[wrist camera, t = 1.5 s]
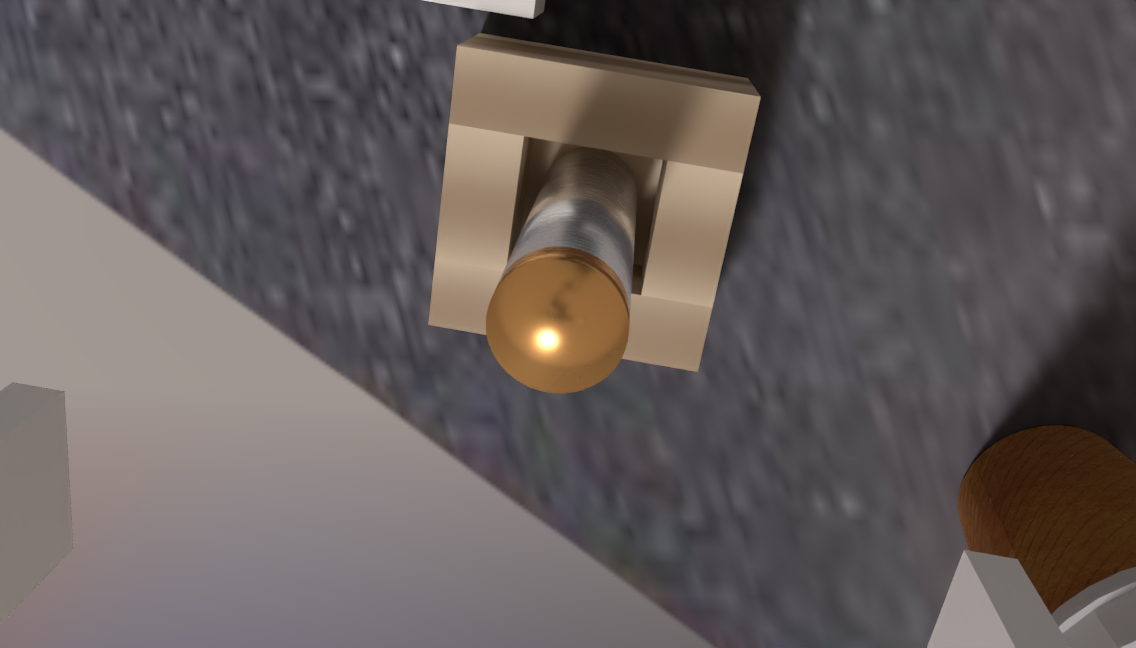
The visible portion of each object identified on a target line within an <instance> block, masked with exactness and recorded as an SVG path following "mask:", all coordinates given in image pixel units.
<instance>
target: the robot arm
mask: <svg viewBox="0 0 1136 648" xmlns="http://www.w3.org/2000/svg"><path fill="white" fill-rule="evenodd" d="M72 549H73V532H72V516H71V497H70V480H69V463H68V445H67V428H66V412H65V394H64V391H59V390H52V389H47V388H42V387H35V386H30V385H24V384H19V383H11V384H10V385H8V386H7V387H5V388H4V389H3V390H1V391H0V624H1V623H2V622H3V621H4V620H5V619H6V618H7V617H8V616H9V615H10V614H11V613H12V612H13V611H14V610H15V609H16V607H18V605H19V604H20V603H21V602H22V601H23V600H24V599H25V598H26V597H27V596H28V595H29V594H30V593H31V592H32V591H33V590H34V589H35V588H36V587H37V586H38V585H39V583H41V582H42V580H43V579H44V578H45V577H46V576H47V575H48V574H49V573H50V572H51V571H52V570H53V569H54V568H55V567H56V566H57V565H58V564H59V563H60V562H61V561H62V560H63V559H64V558H65V557H66V555H67V554H68V553H69V552H70V551H71V550H72ZM927 648H1071V647H1070V645H1069V644H1068V642H1067V640H1066V639H1065V637H1064V635H1063V634H1062V632H1061V630H1060V629H1059V627H1058V625H1057V624H1056V622H1055V620H1054V619H1053V617H1052V616H1051V614H1050V612H1049V611H1048V609H1047V607H1046V606H1045V604H1044V602H1043V601H1042V599H1041V597H1040V596H1039V594H1038V592H1037V591H1036V589H1035V587H1034V586H1033V584H1032V582H1031V581H1030V579H1029V577H1028V576H1027V574H1026V572H1025V571H1024V569H1023V567H1022V566H1021V564H1020V563H1019V561H1018V559H1014V558H1008V557H1002V556H997V555H991V554H985V553H980V552H974V551H968V550H964V551H963V554H962V557H961V559H960V562H959V564H958V567H957V570H956V572H955V575H954V578H953V580H952V583H951V586H950V588H949V591H948V593H947V596H946V599H945V601H944V604H943V607H942V609H941V612H940V615H939V617H938V620H937V622H936V625H935V628H934V630H933V633H932V636H931V638H930V641H929V644H928V646H927Z"/></svg>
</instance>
